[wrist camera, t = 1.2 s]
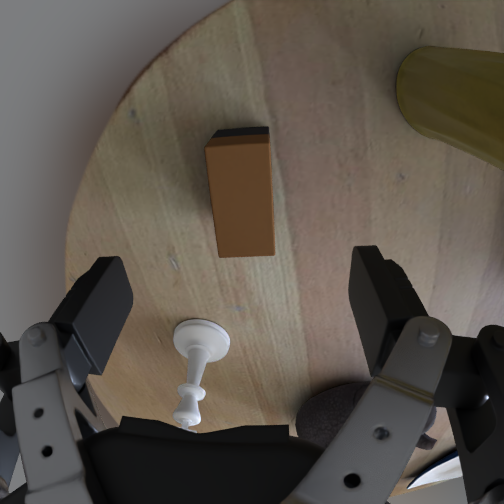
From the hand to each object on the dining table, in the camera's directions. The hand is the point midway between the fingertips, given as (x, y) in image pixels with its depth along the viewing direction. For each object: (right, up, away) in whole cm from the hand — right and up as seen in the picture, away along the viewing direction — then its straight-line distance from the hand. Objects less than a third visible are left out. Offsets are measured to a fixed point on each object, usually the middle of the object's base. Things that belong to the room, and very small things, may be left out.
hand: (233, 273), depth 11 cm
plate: (+47, -45, +38) cm, 75 cm away
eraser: (0, +5, +8) cm, 10 cm away
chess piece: (-4, -7, +16) cm, 18 cm away
